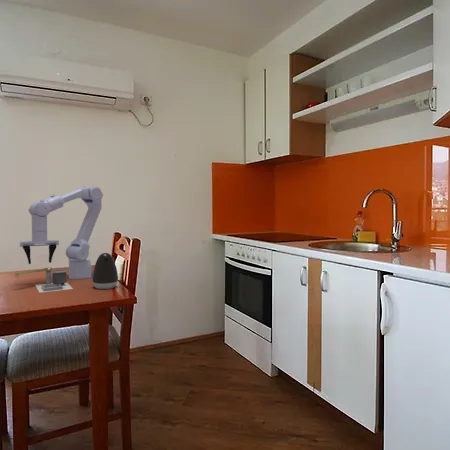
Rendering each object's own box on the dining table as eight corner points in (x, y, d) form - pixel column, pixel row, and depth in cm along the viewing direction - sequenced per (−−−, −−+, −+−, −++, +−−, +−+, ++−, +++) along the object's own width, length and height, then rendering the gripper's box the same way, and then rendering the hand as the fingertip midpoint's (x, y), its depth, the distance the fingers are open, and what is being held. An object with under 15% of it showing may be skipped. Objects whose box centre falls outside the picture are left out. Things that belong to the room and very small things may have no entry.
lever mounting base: (66, 283, 153) (66, 268, 153) (72, 291, 141) (72, 274, 141) (35, 287, 147) (35, 271, 146) (39, 295, 134) (39, 277, 134)
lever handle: (53, 272, 149) (53, 267, 149) (17, 277, 137) (17, 273, 137) (50, 271, 150) (49, 267, 150) (14, 276, 138) (14, 272, 138)
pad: (63, 283, 149) (63, 282, 149) (64, 285, 146) (64, 284, 146) (54, 284, 147) (54, 283, 147) (55, 286, 144) (55, 285, 144)
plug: (62, 282, 150) (62, 269, 150) (67, 282, 147) (67, 269, 147) (51, 284, 146) (51, 270, 147) (56, 283, 143) (56, 270, 144)
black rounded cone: (94, 293, 138) (93, 255, 137) (90, 287, 147) (90, 251, 147) (120, 290, 143) (120, 253, 142) (115, 285, 152) (115, 250, 151)
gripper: (57, 229, 155) (57, 260, 155) (18, 230, 147) (19, 262, 147) (59, 230, 149) (59, 262, 150) (20, 231, 141) (20, 265, 142)
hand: (40, 262), depth 148 cm, fingers open, 7 cm apart
